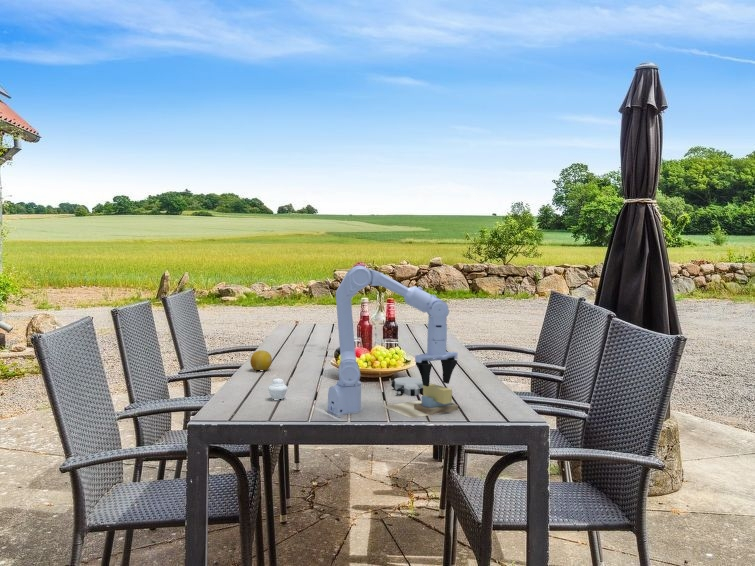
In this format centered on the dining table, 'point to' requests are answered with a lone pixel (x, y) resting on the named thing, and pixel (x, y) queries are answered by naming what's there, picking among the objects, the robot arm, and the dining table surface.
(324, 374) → the dining table surface
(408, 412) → the jig
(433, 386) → the yellow rectangular block
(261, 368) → the fruit
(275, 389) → the white lidded jar
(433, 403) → the blue notched block
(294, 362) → the dining table surface
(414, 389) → the robot toy
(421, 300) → the robot arm
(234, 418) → the dining table surface
